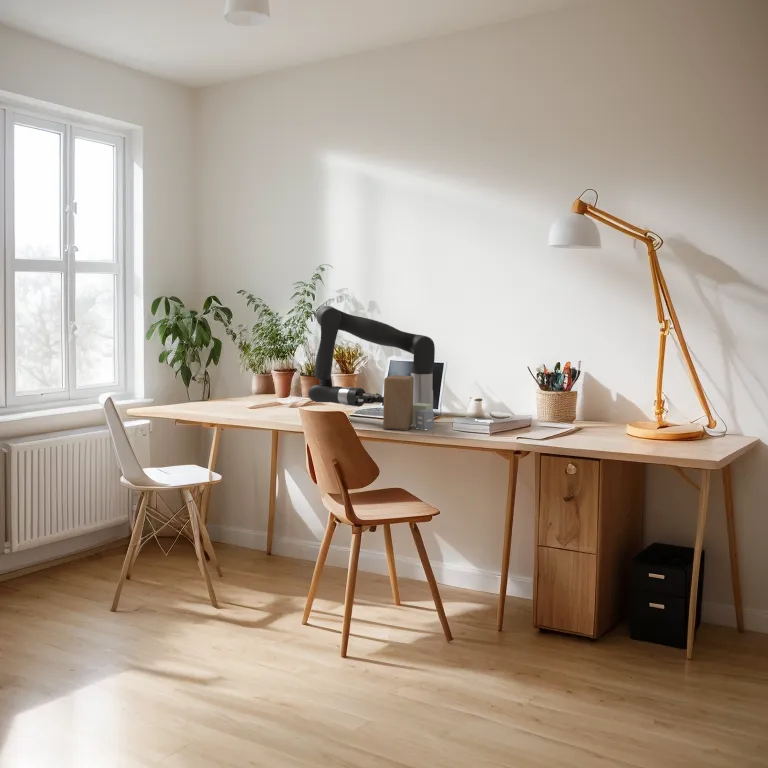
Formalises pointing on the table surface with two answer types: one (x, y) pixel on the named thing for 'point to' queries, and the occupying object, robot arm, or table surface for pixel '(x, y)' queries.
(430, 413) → the slate block
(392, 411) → the block
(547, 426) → the table surface
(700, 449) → the table surface
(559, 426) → the table surface
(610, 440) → the table surface
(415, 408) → the sage block
